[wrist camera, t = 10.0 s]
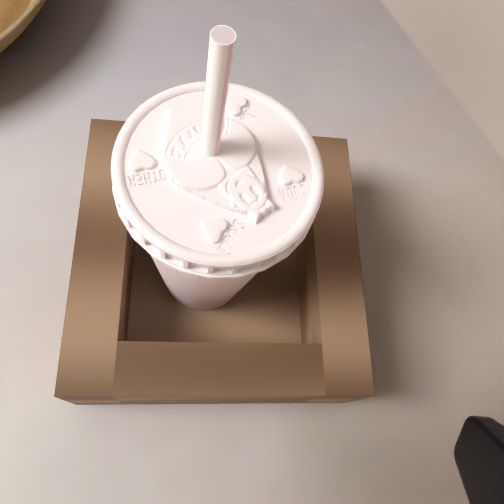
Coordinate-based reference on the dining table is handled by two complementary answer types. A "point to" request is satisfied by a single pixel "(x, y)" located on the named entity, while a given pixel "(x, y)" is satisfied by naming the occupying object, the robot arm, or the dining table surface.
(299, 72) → the dining table surface
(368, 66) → the dining table surface
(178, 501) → the dining table surface
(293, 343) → the caddy
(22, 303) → the dining table surface
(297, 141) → the smoothie
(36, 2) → the plant saucer
